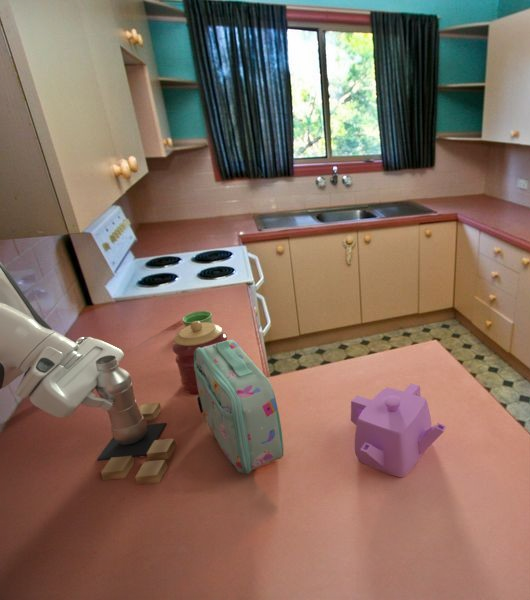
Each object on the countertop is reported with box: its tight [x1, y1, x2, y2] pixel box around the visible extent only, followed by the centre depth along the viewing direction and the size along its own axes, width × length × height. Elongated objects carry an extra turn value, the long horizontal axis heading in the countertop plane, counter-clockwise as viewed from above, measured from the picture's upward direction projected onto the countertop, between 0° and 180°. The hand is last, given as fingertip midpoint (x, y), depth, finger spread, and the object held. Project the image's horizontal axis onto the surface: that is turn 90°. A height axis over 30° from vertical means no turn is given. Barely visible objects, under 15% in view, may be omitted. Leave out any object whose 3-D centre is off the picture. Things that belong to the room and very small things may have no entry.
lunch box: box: [194, 339, 284, 475], centre depth 88 cm, size 27×10×21 cm, turn 40°
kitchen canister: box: [171, 321, 228, 395], centre depth 110 cm, size 13×13×18 cm
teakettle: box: [350, 383, 447, 478], centre depth 86 cm, size 17×17×12 cm
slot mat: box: [96, 422, 167, 462], centre depth 93 cm, size 10×10×1 cm
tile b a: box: [100, 456, 135, 481], centre depth 85 cm, size 4×4×2 cm
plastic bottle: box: [94, 355, 148, 445], centre depth 89 cm, size 6×7×20 cm
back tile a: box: [138, 402, 162, 422], centre depth 100 cm, size 4×4×2 cm
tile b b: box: [146, 437, 177, 461], centre depth 89 cm, size 4×4×2 cm
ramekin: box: [181, 310, 213, 328], centre depth 142 cm, size 9×9×4 cm
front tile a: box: [134, 459, 168, 486], centre depth 83 cm, size 4×4×2 cm
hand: (120, 395), depth 88 cm, fingers closed on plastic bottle, 6 cm apart
